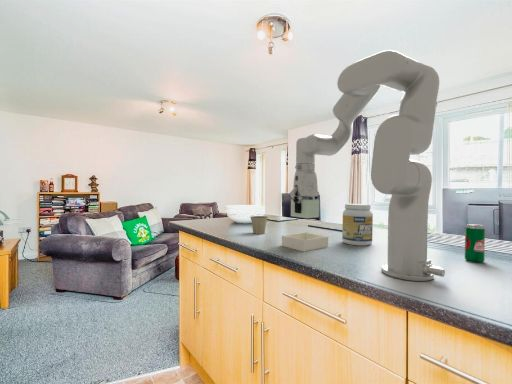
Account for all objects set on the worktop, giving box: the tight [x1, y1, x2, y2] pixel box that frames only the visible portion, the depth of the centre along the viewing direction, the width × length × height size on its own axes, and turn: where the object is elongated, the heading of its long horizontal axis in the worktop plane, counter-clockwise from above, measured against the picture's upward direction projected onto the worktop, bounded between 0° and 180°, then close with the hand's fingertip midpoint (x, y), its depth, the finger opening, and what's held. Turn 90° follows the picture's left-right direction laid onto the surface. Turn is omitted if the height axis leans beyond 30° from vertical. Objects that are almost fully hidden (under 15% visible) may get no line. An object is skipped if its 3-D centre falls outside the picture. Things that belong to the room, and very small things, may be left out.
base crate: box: [281, 231, 329, 252], centre depth 109 cm, size 12×14×4 cm
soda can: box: [464, 223, 486, 264], centre depth 87 cm, size 5×5×12 cm
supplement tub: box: [342, 203, 374, 247], centre depth 115 cm, size 12×12×17 cm
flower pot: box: [249, 215, 269, 235], centre depth 139 cm, size 9×9×9 cm
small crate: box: [290, 198, 320, 219], centre depth 109 cm, size 9×7×7 cm
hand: (304, 212), depth 109 cm, fingers closed on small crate, 7 cm apart
